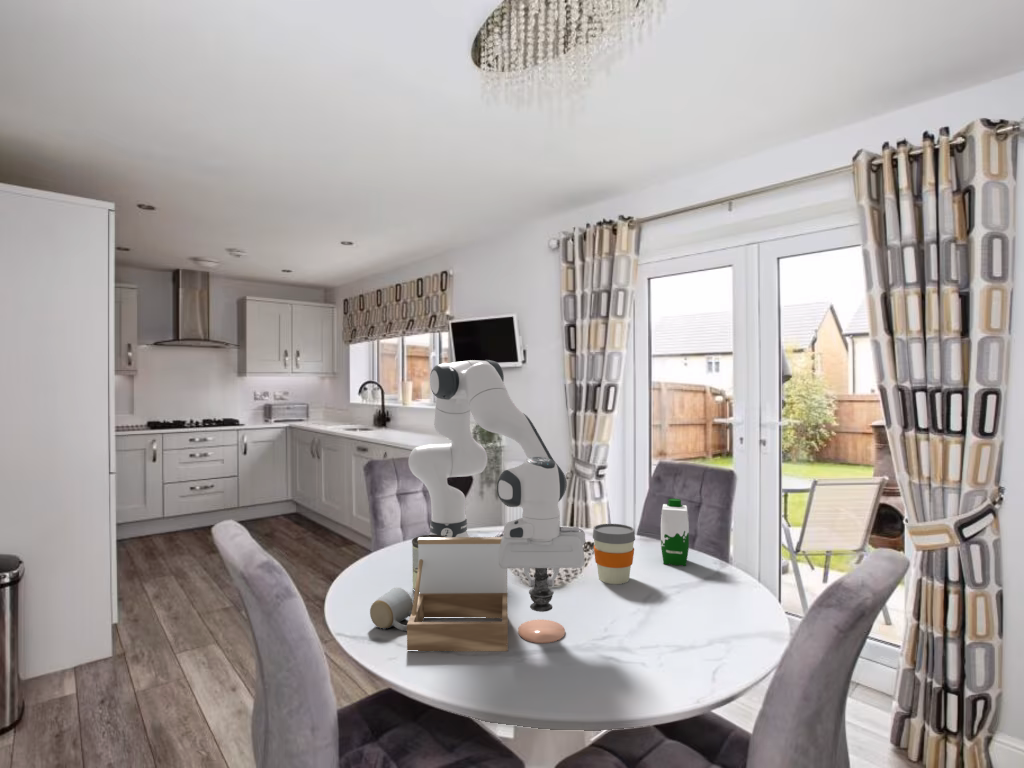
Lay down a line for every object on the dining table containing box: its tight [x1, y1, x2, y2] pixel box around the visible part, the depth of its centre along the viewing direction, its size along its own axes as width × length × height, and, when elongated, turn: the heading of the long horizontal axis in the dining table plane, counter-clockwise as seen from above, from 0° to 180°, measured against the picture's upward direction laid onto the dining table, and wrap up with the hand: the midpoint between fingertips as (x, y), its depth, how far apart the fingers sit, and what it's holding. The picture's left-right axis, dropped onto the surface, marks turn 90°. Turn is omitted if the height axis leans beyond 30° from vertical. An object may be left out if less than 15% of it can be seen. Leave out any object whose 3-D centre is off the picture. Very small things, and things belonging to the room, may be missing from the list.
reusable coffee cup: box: [592, 523, 636, 585], centre depth 165 cm, size 13×13×15 cm
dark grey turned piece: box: [528, 568, 554, 613], centre depth 129 cm, size 6×6×12 cm
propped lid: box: [411, 536, 508, 616], centre depth 132 cm, size 14×22×15 cm, turn 91°
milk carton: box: [660, 497, 690, 567], centre depth 180 cm, size 9×9×20 cm
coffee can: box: [411, 534, 446, 592], centre depth 157 cm, size 10×10×14 cm
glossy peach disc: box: [517, 619, 566, 644], centre depth 129 cm, size 11×11×1 cm
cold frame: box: [406, 592, 509, 652], centre depth 129 cm, size 18×22×6 cm
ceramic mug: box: [369, 587, 413, 631], centre depth 133 cm, size 11×8×8 cm
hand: (541, 585), depth 129 cm, fingers closed on dark grey turned piece, 3 cm apart
